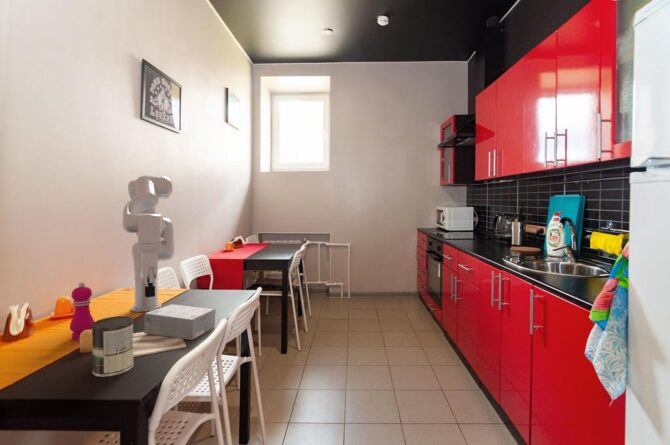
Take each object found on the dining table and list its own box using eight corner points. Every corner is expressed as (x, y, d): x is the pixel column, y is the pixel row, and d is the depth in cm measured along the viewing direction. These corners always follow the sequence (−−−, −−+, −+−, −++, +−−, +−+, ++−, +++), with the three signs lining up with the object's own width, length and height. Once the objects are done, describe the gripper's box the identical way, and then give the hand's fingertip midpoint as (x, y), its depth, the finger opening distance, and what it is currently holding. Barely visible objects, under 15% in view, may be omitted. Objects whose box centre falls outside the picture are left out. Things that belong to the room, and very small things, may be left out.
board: (121, 336, 128) (121, 335, 127) (175, 328, 137) (175, 326, 137) (124, 358, 109) (124, 357, 109) (186, 347, 119) (186, 345, 119)
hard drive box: (142, 334, 128) (191, 340, 124) (143, 313, 128) (192, 319, 123) (171, 322, 143) (215, 327, 139) (172, 303, 143) (216, 308, 139)
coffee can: (84, 377, 97) (83, 327, 96) (105, 361, 107) (104, 316, 107) (122, 376, 98) (122, 327, 97) (140, 360, 108) (139, 315, 108)
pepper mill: (99, 335, 129) (98, 281, 128) (79, 342, 122) (78, 285, 121) (85, 332, 131) (84, 279, 131) (65, 339, 125) (64, 283, 124)
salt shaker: (80, 349, 116) (80, 329, 116) (94, 347, 118) (94, 326, 118) (79, 353, 113) (79, 332, 112) (94, 351, 115) (94, 330, 115)
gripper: (136, 246, 134) (136, 293, 134) (139, 250, 121) (140, 302, 122) (158, 245, 138) (158, 291, 138) (163, 248, 125) (163, 299, 126)
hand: (150, 296), depth 130 cm, fingers closed
